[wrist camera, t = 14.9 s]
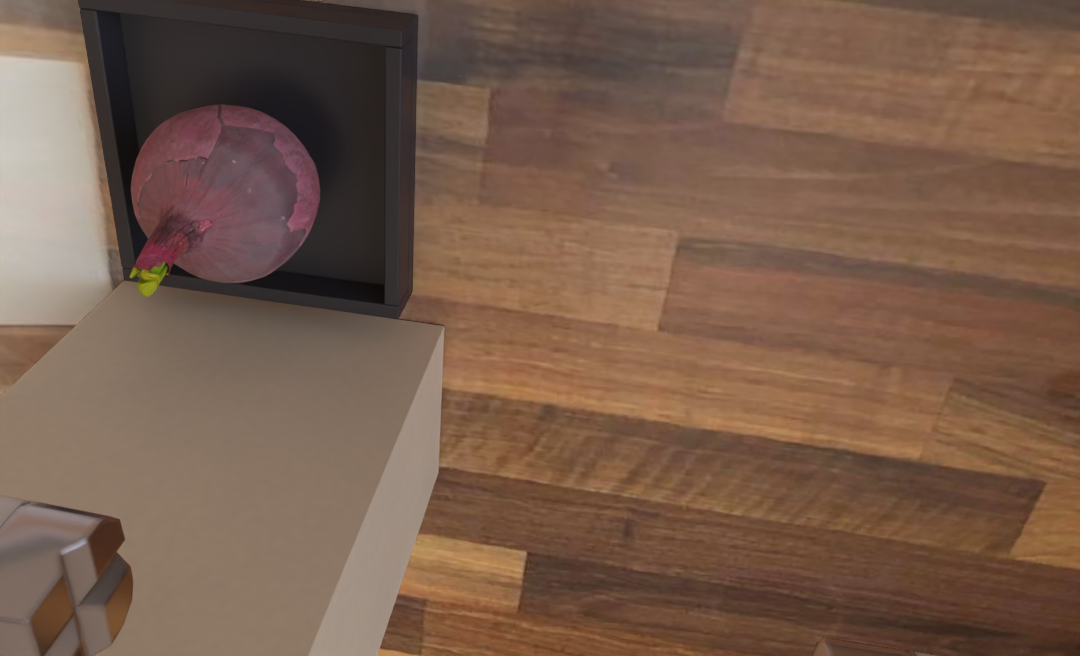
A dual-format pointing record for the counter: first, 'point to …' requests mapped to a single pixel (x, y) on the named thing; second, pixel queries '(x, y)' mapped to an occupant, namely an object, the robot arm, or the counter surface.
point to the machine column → (238, 464)
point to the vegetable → (221, 196)
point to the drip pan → (295, 101)
